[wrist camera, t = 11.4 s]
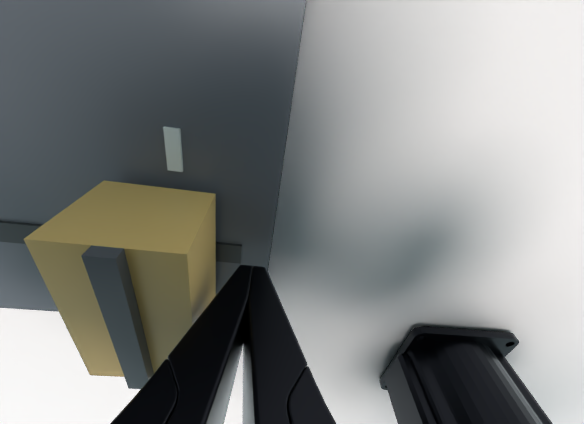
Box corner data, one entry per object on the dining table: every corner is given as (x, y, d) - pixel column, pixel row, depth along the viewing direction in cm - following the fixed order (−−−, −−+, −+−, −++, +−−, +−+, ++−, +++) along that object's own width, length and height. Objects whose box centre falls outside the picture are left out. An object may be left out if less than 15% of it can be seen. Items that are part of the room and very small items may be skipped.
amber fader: (215, 193, 7) (182, 264, 5) (215, 307, 10) (193, 391, 8) (104, 180, 7) (9, 249, 5) (133, 301, 10) (83, 386, 7)
